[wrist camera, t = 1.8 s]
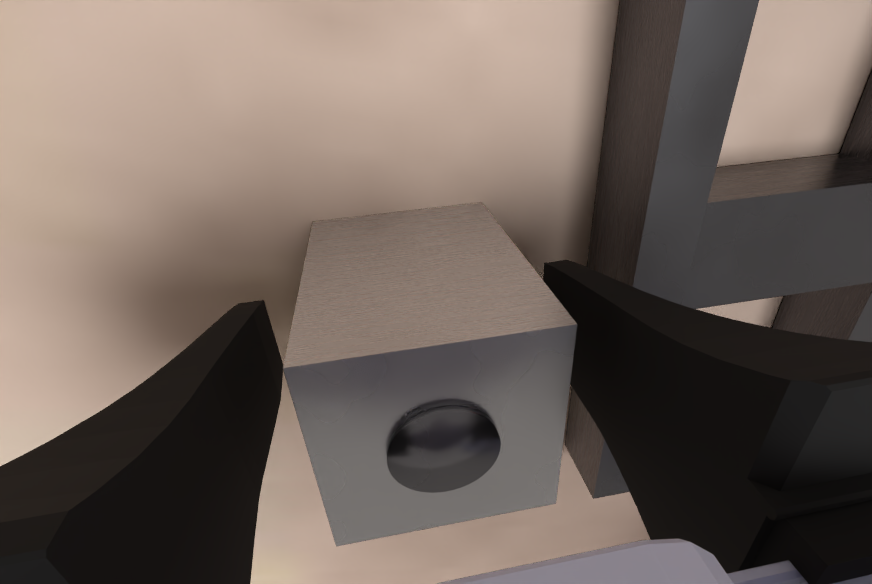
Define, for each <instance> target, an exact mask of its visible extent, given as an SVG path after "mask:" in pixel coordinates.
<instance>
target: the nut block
mask: <svg viewBox="0 0 872 584" xmlns="http://www.w3.org/2000/svg"><path fill="white" fill-rule="evenodd" d="M576 331H577V323H576V322H575V321H574V319H573V318H572V317H571V316H570V314H569V313H568V312H567V310H566V309H565V308H564V307H563V305H562V304H561V303H560V301H559V300H558V299H557V298H556V296H555V295H554V294H553V293H552V291H551V290H550V289H549V287H548V286H547V285H546V284H545V282H544V281H543V280H542V278H541V277H540V276H539V275H538V273H537V272H536V271H535V270H534V268H533V267H532V266H531V264H530V263H529V262H528V261H527V259H526V258H525V257H524V255H523V254H522V253H521V252H520V250H519V249H518V248H517V247H516V245H515V244H514V243H513V241H512V240H511V239H510V238H509V236H508V235H507V234H506V232H505V231H504V230H503V229H502V227H501V226H500V225H499V223H498V222H497V221H496V220H495V218H494V217H493V216H492V215H491V213H490V212H489V211H488V209H487V208H486V207H485V206H484V204H483V203H482V202H479V203H470V204H461V205H453V206H444V207H435V208H426V209H418V210H409V211H400V212H392V213H383V214H374V215H365V216H357V217H348V218H339V219H330V220H322V221H313V222H312V227H311V232H310V237H309V242H308V247H307V252H306V257H305V262H304V267H303V271H302V276H301V281H300V286H299V291H298V296H297V301H296V306H295V311H294V316H293V321H292V326H291V331H290V336H289V341H288V345H287V350H286V355H285V360H284V365H283V370H284V374H285V377H286V380H287V384H288V387H289V390H290V394H291V397H292V400H293V404H294V407H295V410H296V414H297V417H298V420H299V424H300V427H301V430H302V434H303V437H304V440H305V444H306V447H307V450H308V454H309V457H310V460H311V464H312V467H313V470H314V474H315V477H316V480H317V484H318V487H319V490H320V494H321V497H322V500H323V504H324V507H325V510H326V514H327V517H328V520H329V524H330V527H331V530H332V534H333V537H334V540H335V544H336V546H341V545H346V544H351V543H356V542H361V541H366V540H371V539H376V538H382V537H387V536H392V535H397V534H402V533H407V532H412V531H418V530H423V529H428V528H433V527H438V526H443V525H448V524H454V523H459V522H464V521H469V520H474V519H479V518H484V517H489V516H495V515H500V514H505V513H510V512H515V511H520V510H525V509H531V508H536V507H541V506H546V505H551V504H556V498H557V490H558V481H559V473H560V465H561V456H562V448H563V440H564V431H565V423H566V415H567V406H568V398H569V390H570V381H571V373H572V365H573V356H574V348H575V340H576Z"/></svg>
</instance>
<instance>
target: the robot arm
mask: <svg viewBox="0 0 872 584" xmlns="http://www.w3.org/2000/svg"><path fill="white" fill-rule="evenodd" d="M543 281H544V282H545V284H546V285H547V286H548V287H549V289H550V290H551V291H552V293H553V294H554V295H555V296H556V298H557V299H558V300H559V301H560V303H561V304H562V305H563V307H564V308H565V309H566V310H567V312H568V313H569V314H570V316H571V317H572V318H573V319H574V321H575V322H576V323H577V331H576V340H575V348H574V356H573V365H572V373H571V381H570V384H571V386H572V388H573V389H574V391H575V392H576V394H577V395H578V397H579V398H580V400H581V402H582V403H583V405H584V406H585V408H586V409H587V411H588V412H589V414H590V416H591V417H592V419H593V420H594V422H595V423H596V425H597V427H598V429H599V430H600V432H601V434H602V436H603V437H604V439H605V441H606V443H607V445H608V447H609V449H610V451H611V453H612V455H613V457H614V459H615V462H616V464H617V466H618V468H619V470H620V472H621V474H622V476H623V478H624V480H625V482H626V485H627V487H628V489H629V491H630V493H631V495H632V498H633V500H634V502H635V504H636V506H637V508H638V511H639V513H640V515H641V518H642V520H643V522H644V525H645V527H646V529H647V532H648V534H649V536H650V539H651V540H641V541H636V542H631V543H627V544H622V545H617V546H612V547H607V548H603V549H598V550H593V551H588V552H584V553H579V554H574V555H569V556H565V557H560V558H555V559H550V560H546V561H541V562H536V563H531V564H526V565H522V566H517V567H512V568H507V569H503V570H498V571H493V572H488V573H484V574H479V575H474V576H469V577H464V578H460V579H455V580H450V581H445V582H441V583H437V584H872V342H865V341H855V340H845V339H836V338H829V337H822V336H816V335H809V334H802V333H796V332H790V331H785V330H779V329H774V328H768V327H764V326H759V325H755V324H750V323H746V322H741V321H736V320H732V319H728V318H724V317H720V316H717V315H713V314H710V313H706V312H703V311H700V310H696V309H693V308H689V307H686V306H683V305H680V304H677V303H674V302H671V301H669V300H666V299H663V298H660V297H658V296H655V295H652V294H650V293H647V292H644V291H642V290H639V289H637V288H635V287H632V286H630V285H627V284H625V283H623V282H620V281H618V280H616V279H613V278H611V277H609V276H606V275H604V274H602V273H599V272H597V271H595V270H592V269H590V268H588V267H585V266H583V265H580V264H577V263H575V262H571V261H568V260H564V261H556V262H549V263H544V277H543ZM282 376H283V363H282V360H281V356H280V353H279V350H278V346H277V343H276V340H275V336H274V333H273V330H272V326H271V323H270V320H269V316H268V313H267V310H266V306H265V303H264V300H262V301H254V302H247V303H239V304H237V305H236V306H234V307H233V308H232V309H230V310H229V311H228V312H227V313H226V314H225V315H223V316H222V317H221V318H220V319H219V320H218V321H217V322H215V323H214V324H213V325H212V326H211V327H210V328H209V329H208V330H206V331H205V332H204V333H203V334H202V335H201V336H200V337H198V338H197V339H196V340H195V341H194V342H193V343H192V344H190V345H189V346H188V347H187V348H186V349H185V350H183V351H182V352H181V353H180V354H179V355H177V356H176V357H175V358H174V359H172V360H171V361H170V362H169V363H167V364H166V365H165V366H164V367H162V368H161V369H160V370H159V371H157V372H156V373H155V374H154V375H152V376H151V377H150V378H148V379H147V380H146V381H144V382H143V383H142V384H140V385H139V386H137V387H136V388H135V389H133V390H132V391H130V392H129V393H127V394H126V395H124V396H123V397H121V398H120V399H118V400H117V401H115V402H114V403H112V404H111V405H109V406H108V407H106V408H105V409H103V410H102V411H100V412H98V413H97V414H95V415H93V416H92V417H90V418H88V419H86V420H85V421H83V422H81V423H80V424H78V425H76V426H74V427H73V428H71V429H69V430H68V431H66V432H64V433H63V434H61V435H59V436H57V437H56V438H54V439H52V440H50V441H49V442H47V443H45V444H43V445H41V446H39V447H37V448H35V449H34V450H32V451H30V452H28V453H26V454H24V455H22V456H20V457H18V458H16V459H14V460H12V461H10V462H8V463H6V464H4V465H2V466H0V584H250V580H251V569H252V559H253V548H254V538H255V529H256V521H257V512H258V503H259V496H260V491H261V485H262V480H263V475H264V471H265V467H266V462H267V458H268V454H269V449H270V445H271V441H272V436H273V432H274V428H275V423H276V419H277V414H278V410H279V405H280V400H281V390H282Z"/></svg>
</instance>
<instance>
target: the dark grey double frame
mask: <svg viewBox="0 0 872 584" xmlns="http://www.w3.org/2000/svg"><path fill="white" fill-rule="evenodd" d="M758 2H759V0H620V4H619V12H618V20H617V28H616V36H615V44H614V52H613V61H612V69H611V77H610V85H609V93H608V101H607V109H606V117H605V125H604V133H603V141H602V149H601V157H600V165H599V174H598V182H597V190H596V198H595V206H594V214H593V222H592V230H591V238H590V246H589V254H588V262H587V267H588V268H590V269H592V270H595V271H597V272H599V273H602V274H604V275H606V276H609V277H611V278H613V279H616V280H618V281H620V282H623V283H625V284H627V285H630V286H632V287H635V288H637V289H639V290H642V291H644V292H647V293H650V294H652V295H655V296H658V297H660V298H663V299H666V300H669V301H671V302H674V303H677V304H680V305H683V306H686V307H689V308H693V309H698V308H705V307H711V306H718V305H725V304H731V303H738V302H745V301H752V300H758V299H765V298H772V297H778V296H784V299H783V301H782V304H781V306H780V309H779V311H778V314H777V317H776V319H775V322H774V324H773V327H772V328H774V329H779V330H785V331H790V332H796V333H802V334H809V335H816V336H822V337H829V338H836V339H845V340H855V341H865V342H872V72H871V75H870V77H869V80H868V82H867V85H866V88H865V90H864V93H863V95H862V98H861V100H860V103H859V106H858V108H857V111H856V113H855V116H854V118H853V121H852V124H851V126H850V129H849V131H848V134H847V136H846V139H845V142H844V144H843V147H842V149H841V152H840V154H832V155H823V156H814V157H805V158H796V159H787V160H779V161H770V162H761V163H752V164H743V165H734V166H725V167H717V163H718V159H719V155H720V151H721V147H722V143H723V139H724V135H725V132H726V128H727V124H728V120H729V116H730V112H731V108H732V104H733V100H734V96H735V92H736V89H737V85H738V81H739V77H740V73H741V69H742V65H743V61H744V57H745V53H746V49H747V46H748V42H749V38H750V34H751V30H752V26H753V22H754V18H755V14H756V10H757V6H758ZM565 446H566V448H567V449H568V451H569V453H570V455H571V457H572V459H573V461H574V463H575V465H576V467H577V469H578V471H579V472H580V474H581V476H582V478H583V480H584V482H585V484H586V486H587V488H588V490H589V492H590V494H591V495H592V497H593V499H594V498H599V497H604V496H609V495H615V494H620V493H625V492H630V491H629V489H628V487H627V485H626V482H625V480H624V478H623V476H622V474H621V472H620V470H619V468H618V466H617V464H616V462H615V459H614V457H613V455H612V453H611V451H610V449H609V447H608V445H607V443H606V441H605V439H604V437H603V436H602V434H601V432H600V430H599V429H598V427H597V425H596V423H595V422H594V420H593V419H592V417H591V416H590V414H589V412H588V411H587V409H586V408H585V406H584V405H583V403H582V402H581V400H580V398H579V397H578V395H577V394H576V392H575V391H574V389H573V388H572V392H571V400H570V408H569V416H568V424H567V432H566V440H565Z"/></svg>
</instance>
